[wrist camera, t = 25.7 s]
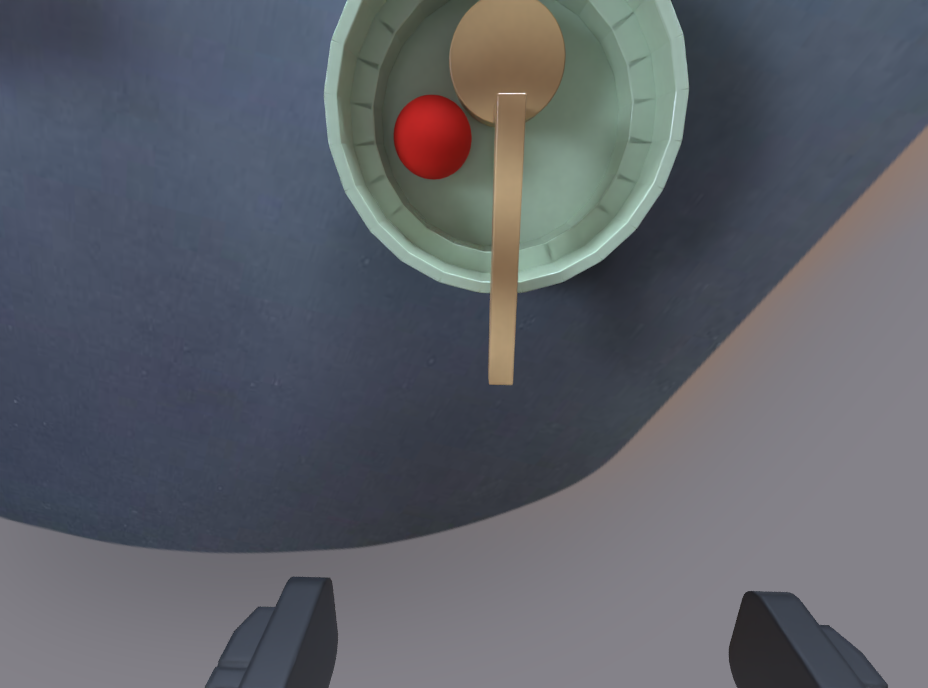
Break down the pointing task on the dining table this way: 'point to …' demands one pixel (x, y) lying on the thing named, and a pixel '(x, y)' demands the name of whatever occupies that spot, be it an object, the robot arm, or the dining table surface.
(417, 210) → the mixing bowl
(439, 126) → the cherry tomato
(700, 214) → the dining table surface
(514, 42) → the ladle
